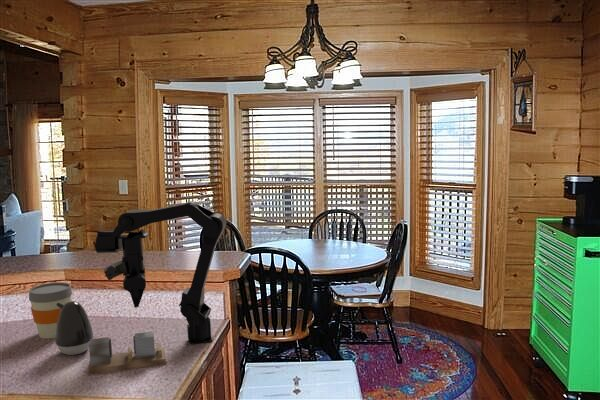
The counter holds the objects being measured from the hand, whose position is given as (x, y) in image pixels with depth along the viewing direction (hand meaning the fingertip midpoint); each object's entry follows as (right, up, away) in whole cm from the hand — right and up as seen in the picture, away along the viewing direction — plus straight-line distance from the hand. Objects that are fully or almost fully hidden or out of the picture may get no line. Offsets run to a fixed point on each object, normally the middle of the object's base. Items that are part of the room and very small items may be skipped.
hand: (136, 302), depth 164 cm
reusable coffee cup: (-29, -12, +9) cm, 33 cm away
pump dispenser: (-16, -14, -5) cm, 22 cm away
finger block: (+7, -12, -13) cm, 19 cm away
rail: (+2, -14, -14) cm, 20 cm away
